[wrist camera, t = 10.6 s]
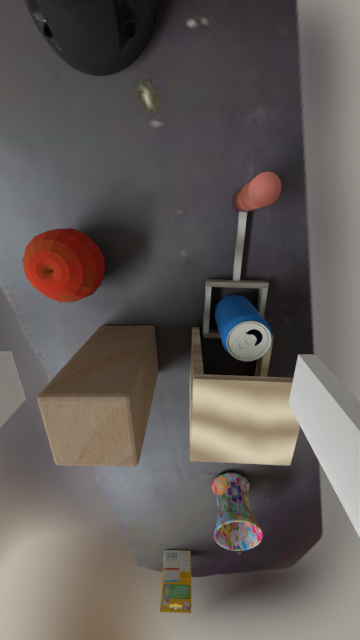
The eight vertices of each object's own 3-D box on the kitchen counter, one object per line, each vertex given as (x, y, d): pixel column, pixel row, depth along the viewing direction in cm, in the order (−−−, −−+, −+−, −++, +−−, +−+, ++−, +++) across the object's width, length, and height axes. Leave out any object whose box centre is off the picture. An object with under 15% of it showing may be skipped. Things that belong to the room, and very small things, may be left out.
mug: (205, 472, 56) (208, 525, 46) (245, 464, 55) (258, 517, 45) (217, 506, 60) (223, 561, 50) (255, 500, 59) (269, 555, 49)
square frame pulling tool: (211, 187, 35) (220, 170, 25) (278, 188, 35) (315, 172, 25) (202, 332, 43) (207, 365, 33) (257, 334, 43) (278, 368, 33)
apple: (46, 276, 41) (-5, 294, 30) (59, 216, 38) (7, 212, 27) (103, 299, 42) (74, 324, 31) (121, 243, 39) (95, 249, 28)
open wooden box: (192, 326, 43) (193, 378, 28) (268, 329, 43) (310, 383, 28) (189, 388, 48) (189, 460, 33) (258, 390, 48) (290, 465, 33)
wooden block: (155, 324, 43) (130, 396, 25) (158, 372, 47) (138, 468, 28) (100, 324, 44) (33, 396, 25) (107, 372, 47) (54, 467, 29)
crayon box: (164, 555, 68) (160, 618, 57) (164, 549, 67) (159, 611, 56) (191, 556, 67) (191, 619, 56) (190, 549, 66) (191, 612, 55)
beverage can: (259, 315, 42) (284, 346, 31) (227, 335, 44) (241, 372, 32) (238, 285, 40) (257, 307, 29) (206, 308, 42) (213, 337, 31)
